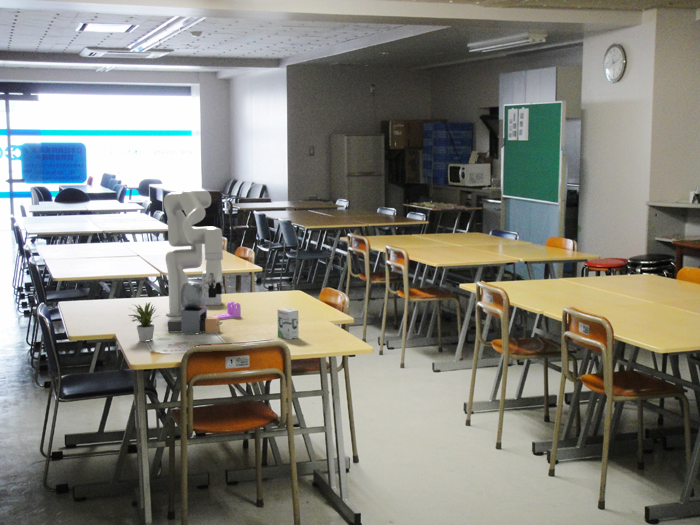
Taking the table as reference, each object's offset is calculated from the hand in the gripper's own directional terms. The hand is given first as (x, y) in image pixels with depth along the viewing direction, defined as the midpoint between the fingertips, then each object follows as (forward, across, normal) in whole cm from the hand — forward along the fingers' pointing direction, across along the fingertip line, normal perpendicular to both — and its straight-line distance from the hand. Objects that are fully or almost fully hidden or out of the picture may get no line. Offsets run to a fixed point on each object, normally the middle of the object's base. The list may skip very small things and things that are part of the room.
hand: (215, 295), depth 338 cm
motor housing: (+16, -1, -10) cm, 19 cm away
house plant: (+16, +18, -26) cm, 35 cm away
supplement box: (+14, -69, -20) cm, 73 cm away
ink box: (+16, +9, +33) cm, 38 cm away
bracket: (+16, -31, -4) cm, 35 cm away
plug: (+16, -1, -10) cm, 18 cm away
